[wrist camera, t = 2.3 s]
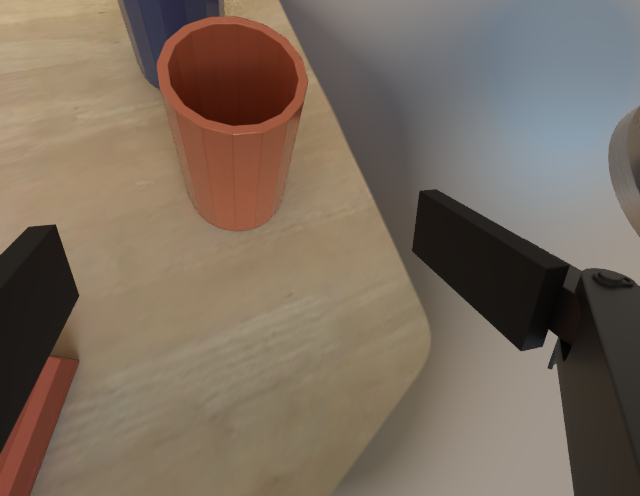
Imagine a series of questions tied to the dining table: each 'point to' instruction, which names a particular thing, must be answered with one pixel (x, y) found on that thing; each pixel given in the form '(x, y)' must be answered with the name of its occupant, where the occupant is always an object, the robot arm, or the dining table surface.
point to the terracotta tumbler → (233, 115)
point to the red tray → (35, 427)
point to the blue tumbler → (161, 26)
